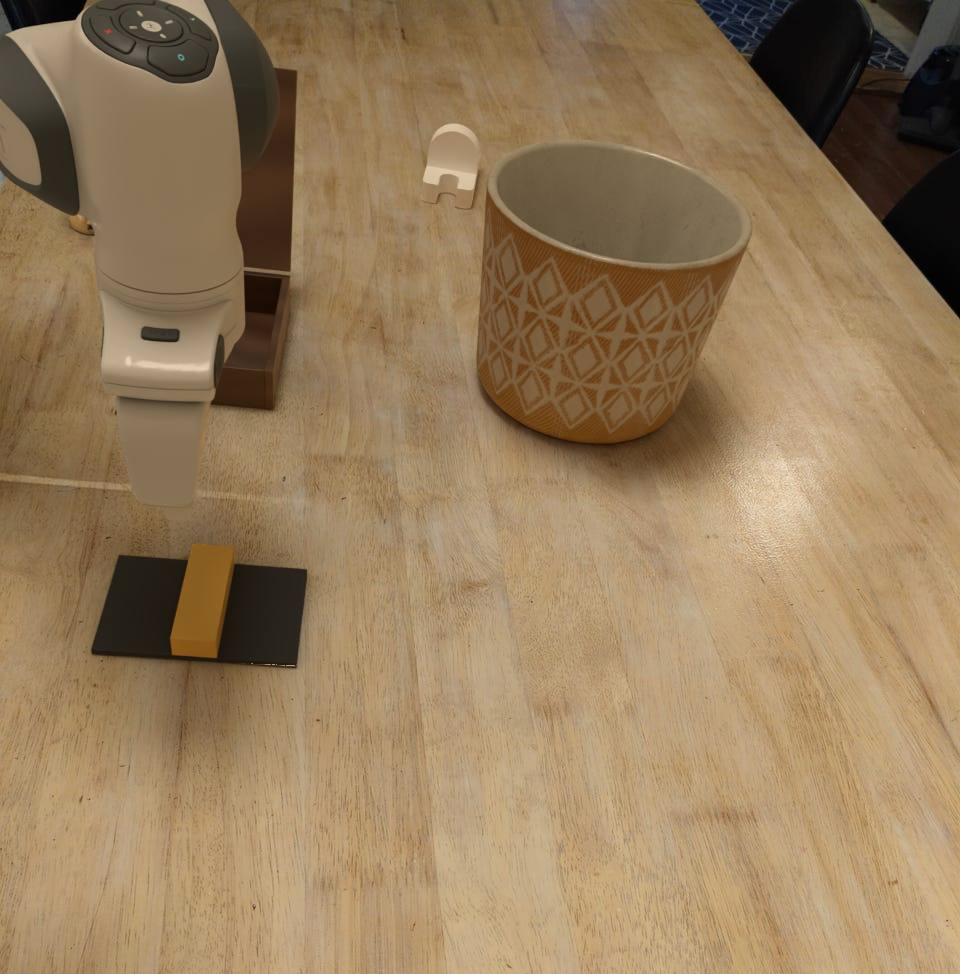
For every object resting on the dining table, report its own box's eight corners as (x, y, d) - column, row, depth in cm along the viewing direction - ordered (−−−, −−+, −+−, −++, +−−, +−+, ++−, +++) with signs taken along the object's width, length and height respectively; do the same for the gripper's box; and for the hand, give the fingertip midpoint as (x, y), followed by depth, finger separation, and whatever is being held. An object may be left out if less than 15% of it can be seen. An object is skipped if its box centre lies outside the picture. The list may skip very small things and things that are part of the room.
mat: (91, 654, 84) (90, 650, 83) (119, 558, 91) (118, 554, 91) (296, 667, 86) (296, 663, 85) (307, 573, 93) (307, 568, 93)
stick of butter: (216, 658, 84) (215, 641, 83) (172, 655, 84) (169, 638, 83) (235, 563, 92) (234, 546, 90) (193, 560, 91) (192, 543, 90)
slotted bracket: (431, 161, 152) (436, 104, 147) (478, 169, 153) (486, 113, 147) (420, 201, 144) (425, 142, 138) (470, 209, 144) (478, 151, 138)
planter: (727, 389, 122) (794, 205, 106) (620, 496, 106) (679, 299, 90) (539, 300, 130) (574, 116, 114) (412, 387, 114) (433, 188, 98)
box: (273, 416, 107) (272, 371, 103) (135, 403, 106) (129, 357, 102) (290, 318, 120) (290, 275, 116) (166, 305, 118) (162, 261, 114)
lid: (296, 70, 106) (297, 70, 107) (157, 51, 105) (159, 51, 106) (290, 272, 115) (290, 270, 116) (161, 258, 114) (163, 256, 114)
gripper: (143, 216, 73) (160, 385, 83) (94, 388, 60) (121, 565, 70) (236, 224, 74) (241, 390, 84) (209, 396, 61) (219, 570, 71)
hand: (187, 471), depth 77 cm, fingers open, 8 cm apart
